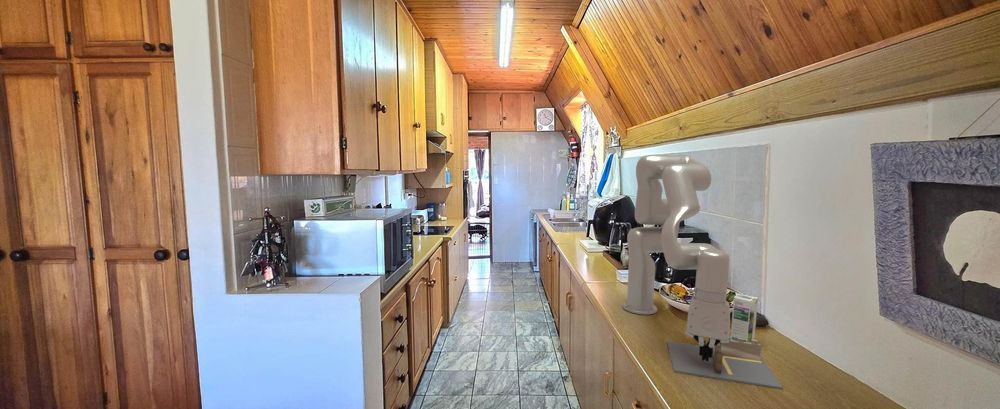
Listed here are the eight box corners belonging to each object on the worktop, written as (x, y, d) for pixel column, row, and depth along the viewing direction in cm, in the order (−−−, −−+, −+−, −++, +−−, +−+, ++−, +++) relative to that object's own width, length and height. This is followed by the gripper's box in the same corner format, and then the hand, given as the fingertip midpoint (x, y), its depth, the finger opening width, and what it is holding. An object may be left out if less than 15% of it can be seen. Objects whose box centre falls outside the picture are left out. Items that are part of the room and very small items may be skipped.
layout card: (666, 342, 122) (667, 340, 122) (758, 355, 115) (759, 353, 115) (674, 372, 105) (674, 369, 105) (782, 389, 98) (782, 387, 98)
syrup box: (729, 341, 124) (733, 296, 122) (734, 335, 128) (737, 292, 126) (750, 347, 120) (754, 301, 118) (754, 340, 124) (758, 296, 122)
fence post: (709, 352, 116) (711, 329, 115) (757, 359, 112) (760, 335, 111) (711, 356, 114) (712, 332, 113) (760, 363, 110) (762, 338, 109)
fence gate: (711, 353, 114) (713, 336, 113) (718, 354, 113) (719, 337, 112) (714, 371, 104) (716, 353, 103) (721, 373, 103) (723, 354, 102)
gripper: (679, 294, 106) (675, 358, 108) (744, 304, 100) (737, 372, 102) (680, 286, 113) (676, 346, 115) (740, 295, 106) (734, 358, 109)
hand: (705, 358), depth 108 cm, fingers closed
